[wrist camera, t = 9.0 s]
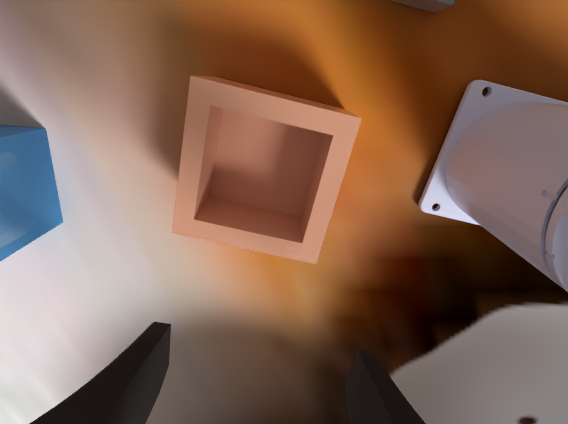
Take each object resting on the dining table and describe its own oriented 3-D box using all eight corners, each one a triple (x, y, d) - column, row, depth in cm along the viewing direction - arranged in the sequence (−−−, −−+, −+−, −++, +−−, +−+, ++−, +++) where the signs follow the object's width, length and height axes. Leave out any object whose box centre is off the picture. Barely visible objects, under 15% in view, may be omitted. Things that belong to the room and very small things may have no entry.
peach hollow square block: (344, 109, 19) (361, 118, 14) (310, 225, 22) (316, 264, 17) (215, 76, 19) (190, 75, 14) (197, 199, 21) (171, 232, 17)
